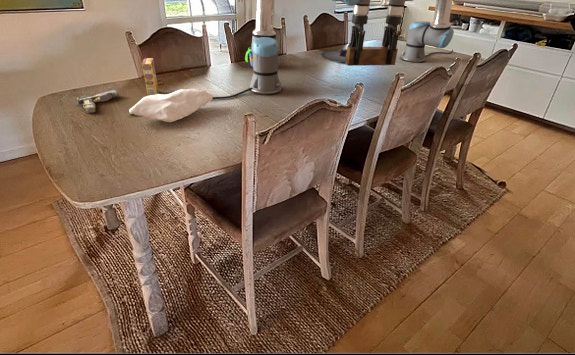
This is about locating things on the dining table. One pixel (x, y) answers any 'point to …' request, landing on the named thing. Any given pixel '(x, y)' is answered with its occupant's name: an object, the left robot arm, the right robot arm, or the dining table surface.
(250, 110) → the dining table surface
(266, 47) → the left robot arm
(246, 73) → the dining table surface
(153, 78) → the candy box
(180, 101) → the crumpled cloth
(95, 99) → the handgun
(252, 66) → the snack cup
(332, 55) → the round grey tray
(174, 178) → the dining table surface
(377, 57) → the bar
